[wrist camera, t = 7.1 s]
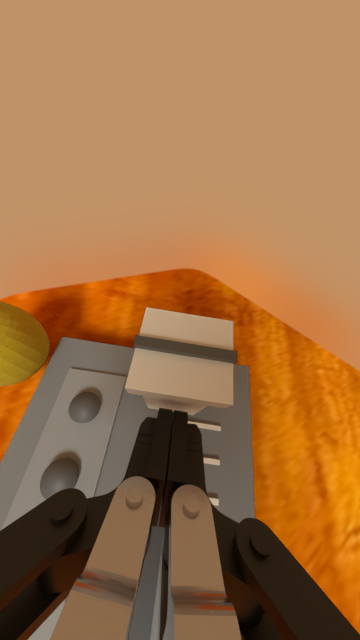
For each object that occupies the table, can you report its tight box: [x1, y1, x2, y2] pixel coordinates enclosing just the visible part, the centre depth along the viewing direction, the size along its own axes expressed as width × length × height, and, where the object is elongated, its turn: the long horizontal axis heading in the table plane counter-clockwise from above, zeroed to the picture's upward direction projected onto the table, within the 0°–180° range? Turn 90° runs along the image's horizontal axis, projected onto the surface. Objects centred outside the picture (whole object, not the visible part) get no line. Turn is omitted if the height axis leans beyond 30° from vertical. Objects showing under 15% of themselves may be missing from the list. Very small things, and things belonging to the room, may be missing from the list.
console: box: [0, 337, 255, 640], centre depth 13 cm, size 16×18×3 cm
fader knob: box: [125, 307, 237, 415], centre depth 11 cm, size 4×3×8 cm
